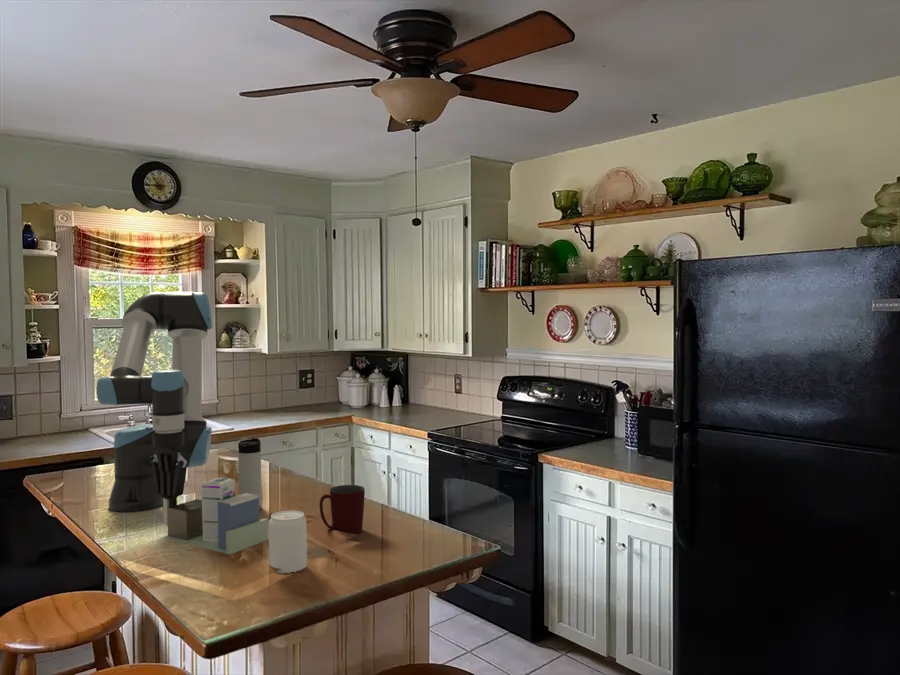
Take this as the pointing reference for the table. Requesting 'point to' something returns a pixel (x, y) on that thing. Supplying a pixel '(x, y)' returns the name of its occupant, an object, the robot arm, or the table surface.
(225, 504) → the book block
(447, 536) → the table surface
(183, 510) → the bookend
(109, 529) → the table surface
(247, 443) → the travel mug
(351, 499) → the mug
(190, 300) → the robot arm
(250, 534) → the pale green slab
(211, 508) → the syrup box
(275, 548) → the beverage can
